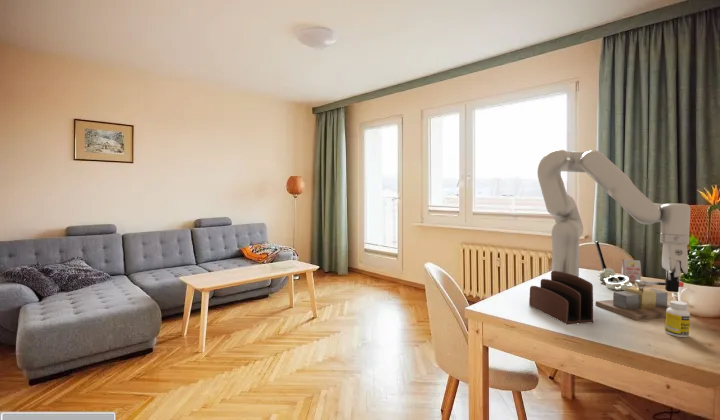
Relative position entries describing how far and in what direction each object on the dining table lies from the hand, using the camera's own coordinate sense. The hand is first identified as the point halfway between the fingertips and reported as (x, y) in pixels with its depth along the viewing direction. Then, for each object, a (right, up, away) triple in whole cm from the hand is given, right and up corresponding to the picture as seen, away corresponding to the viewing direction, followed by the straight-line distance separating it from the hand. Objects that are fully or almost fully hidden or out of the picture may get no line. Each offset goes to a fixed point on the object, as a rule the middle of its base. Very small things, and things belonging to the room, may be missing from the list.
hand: (671, 291), depth 125 cm
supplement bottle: (-13, -10, -17) cm, 23 cm away
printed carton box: (+20, -6, +45) cm, 50 cm away
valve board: (-8, -8, +5) cm, 12 cm away
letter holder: (-38, -9, +2) cm, 39 cm away
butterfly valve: (+5, -7, +35) cm, 36 cm away
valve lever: (-2, +1, +4) cm, 4 cm away
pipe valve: (-8, -6, +5) cm, 11 cm away
